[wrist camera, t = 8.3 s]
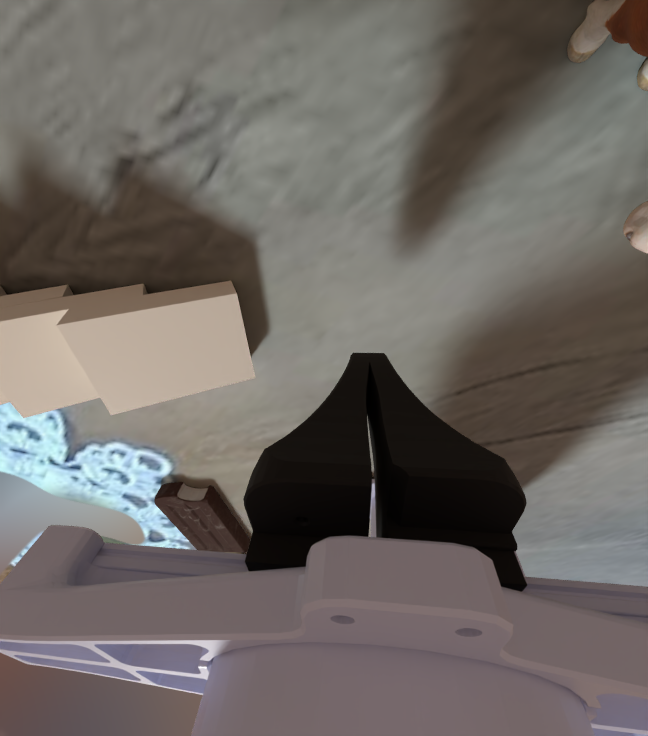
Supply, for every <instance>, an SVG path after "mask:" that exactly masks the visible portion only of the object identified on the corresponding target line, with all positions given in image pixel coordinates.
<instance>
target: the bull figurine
mask: <svg viewBox="0 0 648 736" xmlns="http://www.w3.org/2000/svg"><path fill="white" fill-rule="evenodd" d="M610 33H611V35H612V39H613V40H614V41H615V42H618V43H621V44H623V43H629V44H630V46H631V48H632V49H633V50H634V51H635V52H637V53H638V54H640V55H642V56H646V57H648V0H610V1H605V0H595V1H594V2H592V3H591V4H590V5H589V6H588V8H587V16H586V19H585V20H584V21H583V23H582V24H581V25H580V26H579V27H578V28H577V29H576V31H575V32H574V33H573V34H572V36H571V38H570V40H569V44H568V47H567V53H568V57H569V59H570V60H571V61H572V62H576V63H581V62H583V61H585V60H587V59H588V58H589V57H590V56H591V55H592V54H593V53H594V52H595V51H596V50H597V49H598V47H599V46H600V45H601V44H602V43H604V42H605V40H606V38H607V37H608V35H609V34H610ZM637 81H638V86H639V87H640V88H641V89H643V90H645V91H648V59H647V60H646V61H645V62H644V64H643V65H642V66H641V68H640V70H639V72H638V75H637ZM623 232H624V235H625V236H626V237H627V238H628V240H629V241H630V242H631V245H632V246H633V247H635V248H636V249H638V250H640V251H643V252H645V253H648V201H647V202H644V203H643V204H641V205H640V206H638V207H637V208H636V209H634V210H633V211H632V212H631V214H630V215H629V216H628V218H627V220H626V221H625V224H624V227H623Z"/></svg>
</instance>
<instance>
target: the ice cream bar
mask: <svg viewBox="0 0 648 736" xmlns="http://www.w3.org/2000/svg"><path fill="white" fill-rule="evenodd" d="M155 504H156V506H157V507H158V508H159V509H160V510H161V511H162V512H163V513H164V514H165V515H166V516H167V517H168V519H169V520H170V521H171V522H172V523H173V524H174V525H175V526H176V527H177V528H178V529H179V530H180V532H181V533H182V534H183V535H184V536H185V537H186V538H187V539H188V540H189V541H190V542H191V544H192V545H193V546H194V547H195V548H196V549H197V550H201V551H213V552H225V553H238V554H242V553H241V552H247V550H248V547H249V543H250V539H249V538H248V536H247V535H246V533H245V532H244V530H243V529H242V528H241V526H240V525H239V523H238V522H237V520H236V519H235V518H234V516H233V515H232V513H231V512H230V510H229V509H228V507H227V506H226V505H225V503H224V502H223V500H222V499H221V497H220V496H219V495H218V493H217V492H216V490H215V489H214V487H213V486H209V487H208V488H204V489H198V488H192V487H188V486H186V485H185V484H184V483H183V482H175V483H167V484H164V485H162V486H161V488H160V489H159V491H158V493H157V494H156V496H155Z"/></svg>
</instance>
